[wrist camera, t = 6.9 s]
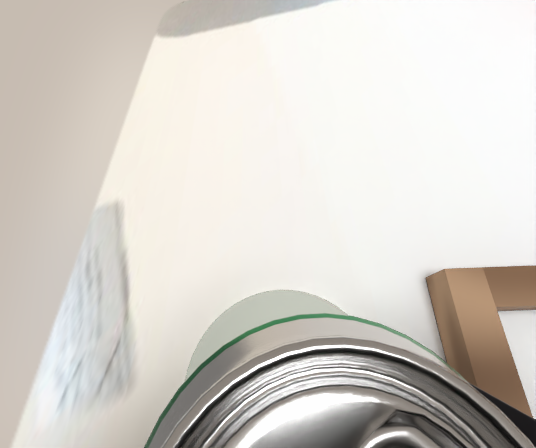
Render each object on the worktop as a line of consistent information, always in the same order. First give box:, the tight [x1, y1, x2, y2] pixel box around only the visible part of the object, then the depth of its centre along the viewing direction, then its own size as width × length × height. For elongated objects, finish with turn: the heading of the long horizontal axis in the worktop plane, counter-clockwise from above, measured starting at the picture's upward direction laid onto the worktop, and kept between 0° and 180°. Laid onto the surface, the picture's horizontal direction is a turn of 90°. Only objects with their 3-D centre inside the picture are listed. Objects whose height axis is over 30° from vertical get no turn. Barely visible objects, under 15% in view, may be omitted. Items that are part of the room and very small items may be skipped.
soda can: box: [144, 313, 536, 448], centre depth 8 cm, size 5×5×12 cm
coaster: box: [185, 290, 348, 381], centre depth 15 cm, size 10×10×1 cm
